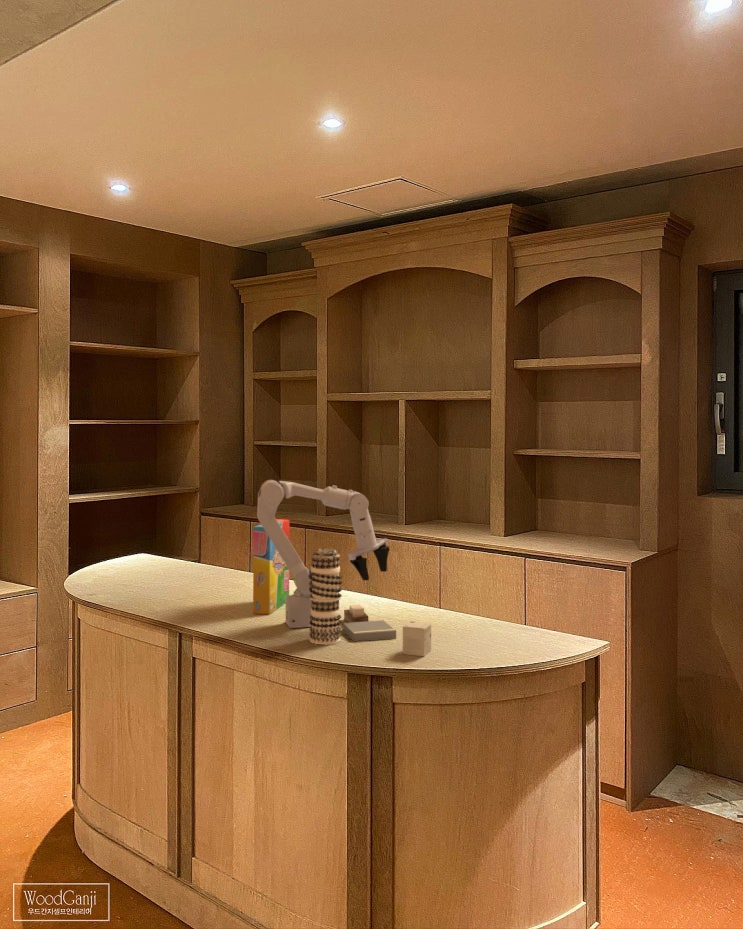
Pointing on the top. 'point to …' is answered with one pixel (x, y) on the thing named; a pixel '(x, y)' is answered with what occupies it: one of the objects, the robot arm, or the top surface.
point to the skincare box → (417, 638)
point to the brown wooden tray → (350, 618)
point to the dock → (369, 630)
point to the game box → (268, 571)
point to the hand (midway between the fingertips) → (375, 575)
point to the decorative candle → (325, 597)
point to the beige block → (356, 610)
